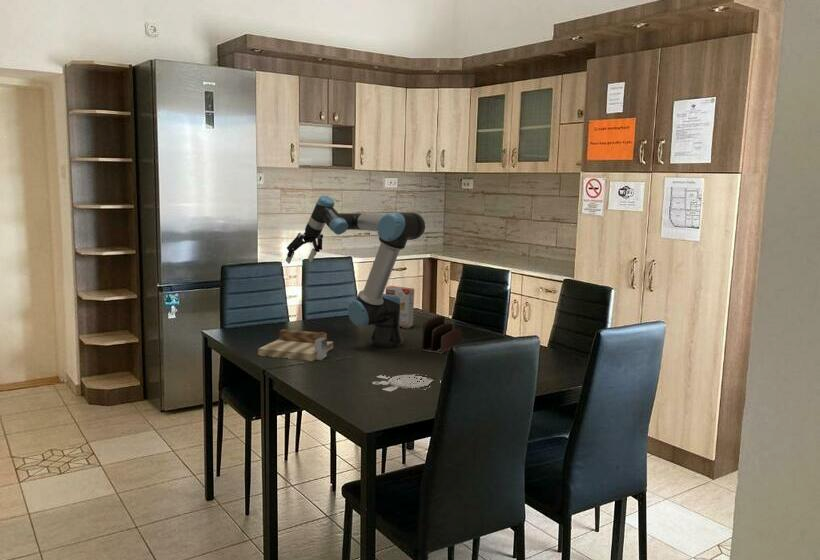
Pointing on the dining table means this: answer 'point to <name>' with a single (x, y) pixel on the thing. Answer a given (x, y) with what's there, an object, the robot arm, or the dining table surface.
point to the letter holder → (439, 335)
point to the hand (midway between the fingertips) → (298, 261)
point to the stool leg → (301, 335)
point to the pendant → (404, 382)
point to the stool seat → (291, 350)
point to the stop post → (320, 348)
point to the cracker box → (404, 303)
